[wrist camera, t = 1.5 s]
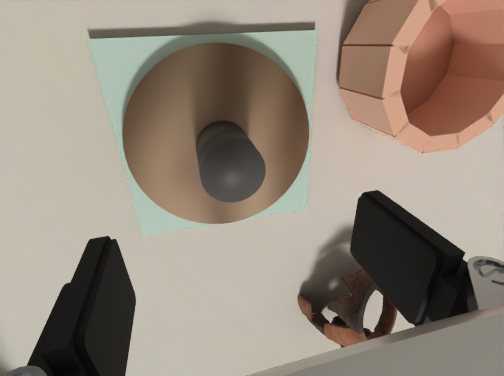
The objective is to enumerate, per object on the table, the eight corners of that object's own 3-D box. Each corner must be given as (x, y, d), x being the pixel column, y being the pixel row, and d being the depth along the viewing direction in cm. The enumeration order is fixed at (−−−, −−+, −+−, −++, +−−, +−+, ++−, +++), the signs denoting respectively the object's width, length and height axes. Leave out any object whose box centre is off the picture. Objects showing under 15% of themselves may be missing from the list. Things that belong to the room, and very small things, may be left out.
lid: (310, 38, 20) (354, 36, 15) (301, 206, 26) (330, 244, 21) (98, 48, 17) (64, 49, 12) (147, 230, 24) (139, 280, 19)
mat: (314, 30, 20) (317, 29, 19) (304, 207, 27) (306, 209, 27) (89, 39, 17) (87, 39, 17) (143, 233, 24) (143, 236, 24)
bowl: (478, -23, 21) (577, -45, 16) (438, 122, 26) (502, 142, 21) (344, -22, 19) (406, -47, 14) (329, 135, 24) (371, 160, 19)
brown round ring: (283, 278, 32) (343, 307, 25) (334, 238, 36) (397, 253, 30) (310, 358, 35) (370, 403, 28) (354, 311, 39) (414, 340, 33)
